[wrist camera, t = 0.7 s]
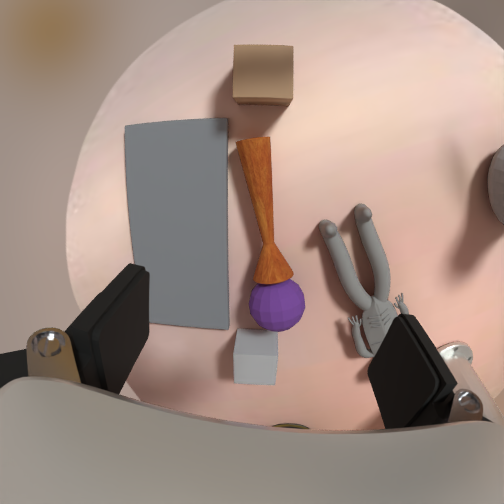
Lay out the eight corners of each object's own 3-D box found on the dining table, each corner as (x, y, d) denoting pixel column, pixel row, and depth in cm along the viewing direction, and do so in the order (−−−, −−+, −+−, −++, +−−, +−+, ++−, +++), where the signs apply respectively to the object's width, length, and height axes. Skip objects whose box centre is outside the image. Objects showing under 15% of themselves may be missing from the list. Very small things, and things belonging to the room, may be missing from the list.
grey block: (275, 358, 37) (275, 385, 33) (238, 357, 38) (234, 383, 33) (277, 329, 36) (278, 356, 31) (237, 328, 36) (233, 353, 31)
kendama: (290, 132, 24) (313, 334, 29) (277, 139, 29) (298, 309, 35) (222, 140, 23) (257, 346, 29) (221, 147, 29) (250, 319, 34)
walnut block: (288, 106, 26) (292, 98, 21) (238, 104, 26) (232, 97, 22) (289, 61, 24) (293, 46, 20) (239, 59, 24) (234, 44, 20)
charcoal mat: (229, 325, 36) (228, 329, 35) (147, 317, 36) (145, 321, 35) (228, 118, 27) (226, 118, 26) (128, 126, 27) (124, 125, 26)
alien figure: (385, 202, 25) (424, 374, 32) (369, 195, 30) (413, 353, 36) (310, 236, 27) (372, 397, 33) (304, 223, 31) (365, 375, 38)
